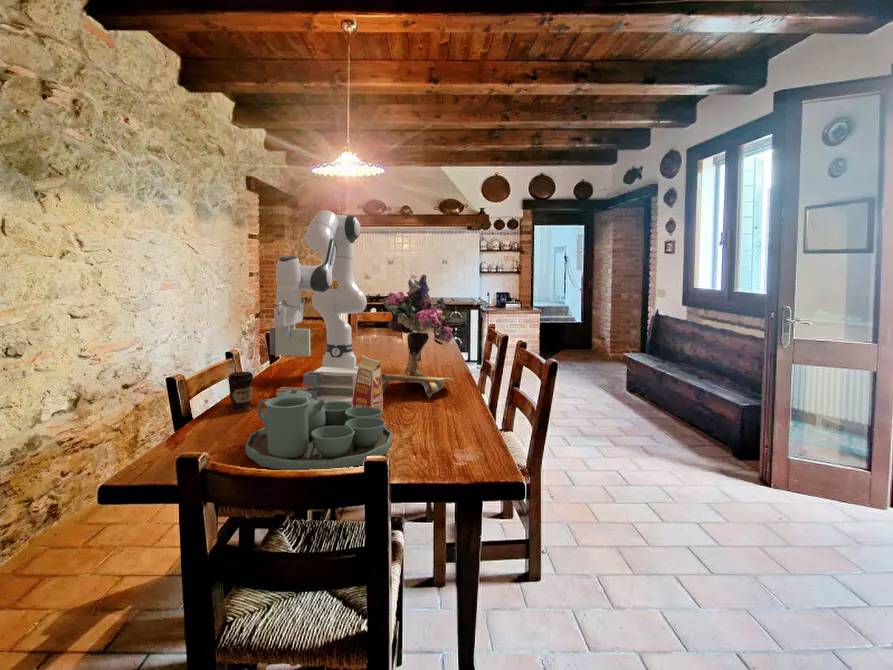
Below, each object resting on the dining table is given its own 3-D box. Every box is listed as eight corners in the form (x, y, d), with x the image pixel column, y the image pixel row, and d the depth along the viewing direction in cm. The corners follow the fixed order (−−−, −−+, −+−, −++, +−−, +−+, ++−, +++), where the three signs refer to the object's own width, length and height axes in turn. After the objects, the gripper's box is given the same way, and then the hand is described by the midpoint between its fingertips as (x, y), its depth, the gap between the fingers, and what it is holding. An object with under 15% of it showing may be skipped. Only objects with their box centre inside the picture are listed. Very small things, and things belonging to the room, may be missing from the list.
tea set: (392, 473, 140) (393, 409, 138) (227, 476, 136) (225, 410, 134) (392, 426, 180) (392, 376, 177) (264, 427, 175) (262, 376, 173)
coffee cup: (259, 410, 194) (258, 373, 192) (236, 414, 188) (235, 376, 186) (247, 405, 200) (246, 369, 198) (224, 409, 194) (223, 372, 192)
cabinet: (317, 394, 218) (317, 366, 217) (361, 396, 217) (361, 368, 215) (303, 404, 202) (303, 374, 201) (351, 406, 201) (351, 376, 200)
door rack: (281, 394, 216) (281, 387, 216) (306, 395, 216) (306, 388, 215) (276, 397, 212) (276, 389, 211) (302, 398, 211) (302, 390, 211)
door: (271, 353, 213) (271, 327, 212) (310, 355, 212) (310, 329, 210) (268, 355, 210) (267, 328, 208) (308, 356, 208) (307, 330, 207)
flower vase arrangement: (455, 368, 257) (465, 277, 236) (452, 426, 218) (464, 322, 197) (383, 361, 257) (386, 269, 236) (367, 418, 217) (370, 314, 197)
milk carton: (350, 415, 190) (350, 357, 188) (363, 408, 199) (363, 353, 196) (374, 418, 187) (374, 359, 185) (386, 411, 196) (387, 355, 193)
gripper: (286, 302, 198) (287, 341, 200) (306, 298, 218) (306, 333, 220) (269, 301, 198) (269, 340, 200) (290, 298, 219) (290, 333, 220)
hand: (289, 336), depth 210 cm, fingers closed on door, 2 cm apart
